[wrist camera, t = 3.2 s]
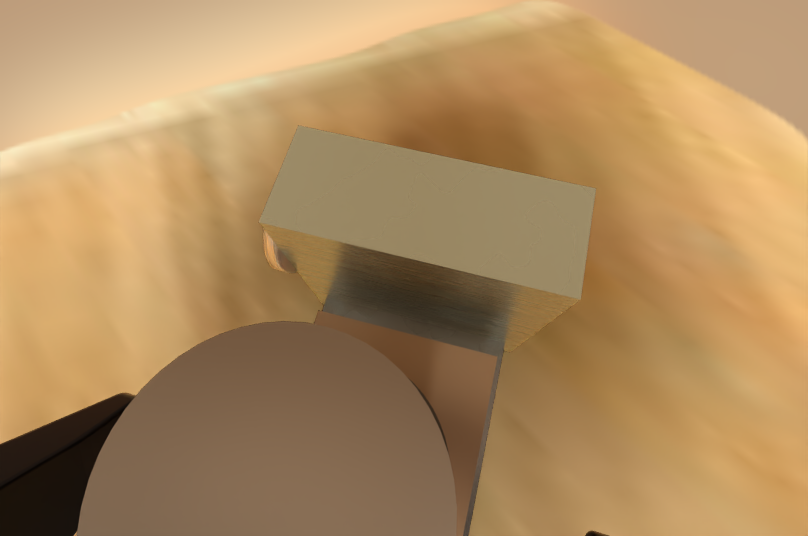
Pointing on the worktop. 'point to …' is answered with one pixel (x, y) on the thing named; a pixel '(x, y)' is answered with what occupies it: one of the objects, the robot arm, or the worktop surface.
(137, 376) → the worktop surface
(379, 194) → the rail
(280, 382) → the carriage
